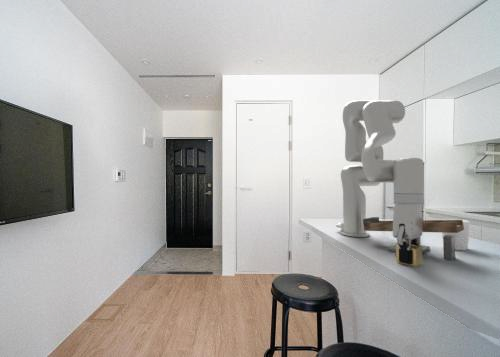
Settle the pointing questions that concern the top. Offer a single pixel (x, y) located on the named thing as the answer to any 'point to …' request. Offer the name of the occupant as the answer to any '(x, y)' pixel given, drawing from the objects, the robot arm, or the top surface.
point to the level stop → (449, 247)
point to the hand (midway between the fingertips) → (409, 260)
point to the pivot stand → (393, 249)
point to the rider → (415, 255)
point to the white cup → (460, 236)
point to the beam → (428, 225)
